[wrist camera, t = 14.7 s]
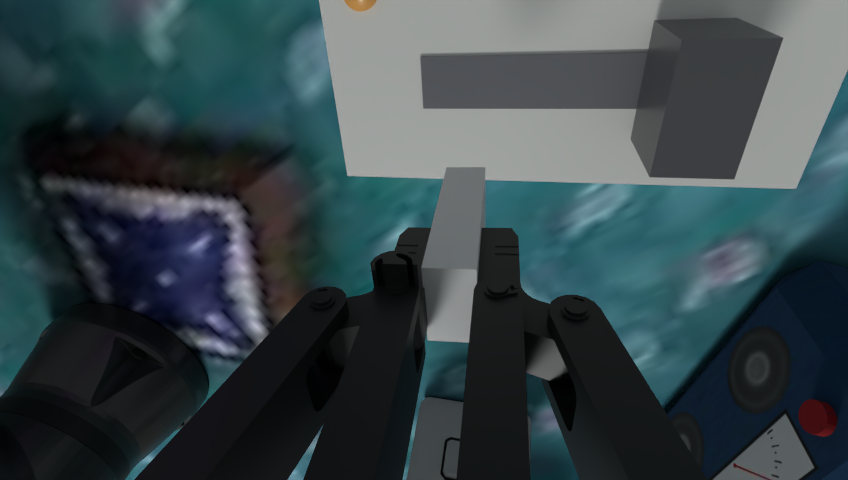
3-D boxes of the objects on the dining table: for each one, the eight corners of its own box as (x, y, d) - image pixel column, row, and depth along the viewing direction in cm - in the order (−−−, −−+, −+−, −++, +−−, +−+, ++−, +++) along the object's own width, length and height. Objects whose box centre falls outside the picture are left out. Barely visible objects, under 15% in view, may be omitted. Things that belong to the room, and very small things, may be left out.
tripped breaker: (630, 138, 21) (649, 177, 18) (654, 20, 19) (681, 40, 15) (701, 139, 21) (734, 179, 17) (736, 17, 18) (783, 37, 15)
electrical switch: (532, 410, 38) (532, 534, 31) (524, 440, 42) (521, 559, 35) (422, 391, 40) (397, 506, 33) (422, 422, 43) (400, 533, 36)
